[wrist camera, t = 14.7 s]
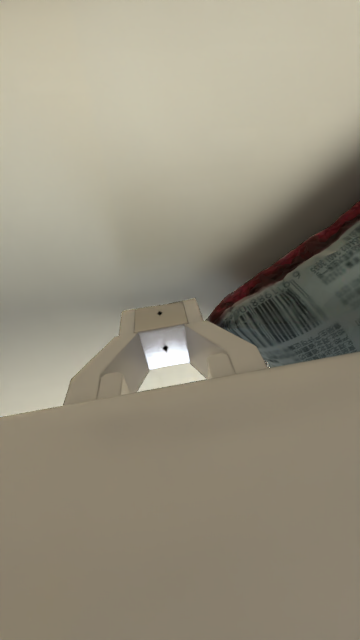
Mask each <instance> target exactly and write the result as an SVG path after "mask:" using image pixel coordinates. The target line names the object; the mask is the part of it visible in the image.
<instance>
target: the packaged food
mask: <svg viewBox="0 0 360 640" xmlns="http://www.w3.org/2000/svg"><path fill="white" fill-rule="evenodd" d="M206 320H207V321H209V322H211V323H213V324H215V325H217V326H219V327H221V328H223V329H224V330H226V331H228V332H230V333H232V334H234V335H236V336H238V337H240V338H241V339H243V340H245V341H247V342H249V343H251V344H253V345H255V346H256V347H257V349H258V351H259V352H260V354H261V356H262V358H263V360H265V361H266V362H268V363H269V366H270V368H272V367H277V366H283V365H288V364H294V363H299V362H305V361H310V360H316V359H321V358H326V357H332V356H337V355H343V354H348V353H354V352H359V351H360V201H359V202H357V203H356V204H355V205H354V206H352V207H351V208H350V209H349V210H348V211H347V212H345V213H344V214H342V215H341V216H340V217H339V218H338V219H337V220H336V222H335V223H334V224H332V225H331V226H330V227H328V228H326V229H324V230H323V231H321V232H319V233H317V234H315V235H313V236H311V237H310V238H308V239H307V240H306V241H304V242H303V243H302V244H301V245H299V246H298V247H297V248H295V249H293V250H292V251H290V252H289V253H287V254H286V255H285V256H284V257H282V258H281V259H280V260H278V261H277V262H276V263H274V264H273V265H272V266H270V267H269V268H268V269H265V270H263V271H261V272H260V273H258V274H257V275H256V276H255V277H254V278H253V279H252V280H250V281H248V282H247V283H245V284H244V285H242V286H241V287H239V288H238V289H237V290H235V291H234V292H232V293H230V294H229V295H227V296H226V297H225V298H224V299H223V300H222V301H221V303H220V304H219V305H218V306H217V307H216V308H215V309H214V310H213V312H212V313H211V314H210V316H209V317H208V318H207V319H206ZM206 320H205V321H206Z"/></svg>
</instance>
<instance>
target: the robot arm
mask: <svg viewBox="0 0 360 640" xmlns="http://www.w3.org/2000/svg"><path fill="white" fill-rule="evenodd" d="M183 363H190V364H191V365H192V366H193V367H194V368H195V369H197V370H198V371H199V372H200V373H201V374H202V375H203V376H204V377H205V378H206V380H200V381H195V382H190V383H184V384H179V385H173V386H168V387H162V388H157V389H152V390H146V391H141V392H137V391H138V389H139V388H140V386H141V384H142V382H143V381H144V379H145V377H146V376H147V374H148V372H149V370H151V369H156V368H160V367H165V366H170V365H177V364H183ZM0 640H360V351H359V352H354V353H348V354H343V355H337V356H332V357H326V358H321V359H316V360H310V361H305V362H299V363H294V364H288V365H283V366H277V367H272V368H268V367H267V365H266V363H265V361H264V360H263V358H262V356H261V354H260V352H259V351H258V349H257V347H256V346H255V345H253V344H251V343H249V342H247V341H245V340H243V339H241V338H240V337H238V336H236V335H234V334H232V333H230V332H228V331H226V330H224V329H223V328H221V327H219V326H217V325H215V324H213V323H211V322H209V321H207V320H206V321H203V318H202V315H201V312H200V309H199V306H198V304H197V301H196V299H195V298H193V299H188V300H183V301H178V302H173V303H168V304H163V305H156V306H149V307H143V308H136V309H130V310H125V311H122V314H121V322H120V330H119V336H116V337H114V338H113V339H112V340H111V341H110V342H109V343H108V344H107V345H106V346H105V347H104V348H103V349H102V350H101V351H100V352H99V353H98V354H97V355H96V356H94V357H93V358H92V359H91V360H90V361H89V362H88V363H87V364H86V365H85V366H84V367H83V368H82V369H81V370H80V371H79V372H78V373H77V374H76V375H75V376H74V377H73V378H72V379H71V381H70V384H69V388H68V391H67V394H66V397H65V401H64V404H63V406H58V407H53V408H47V409H42V410H36V411H31V412H25V413H20V414H14V415H9V416H3V417H0Z"/></svg>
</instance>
